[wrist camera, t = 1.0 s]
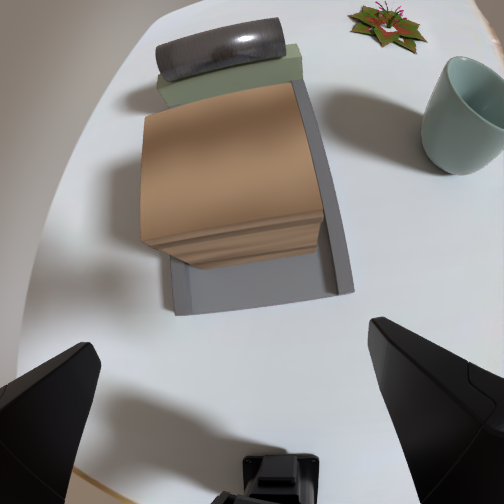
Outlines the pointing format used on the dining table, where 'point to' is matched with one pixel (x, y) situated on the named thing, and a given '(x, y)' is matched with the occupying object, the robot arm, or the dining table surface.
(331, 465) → the dining table surface
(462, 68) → the cup
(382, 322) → the robot arm
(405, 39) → the lily flower
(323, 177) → the bay
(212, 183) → the brown wooden block
